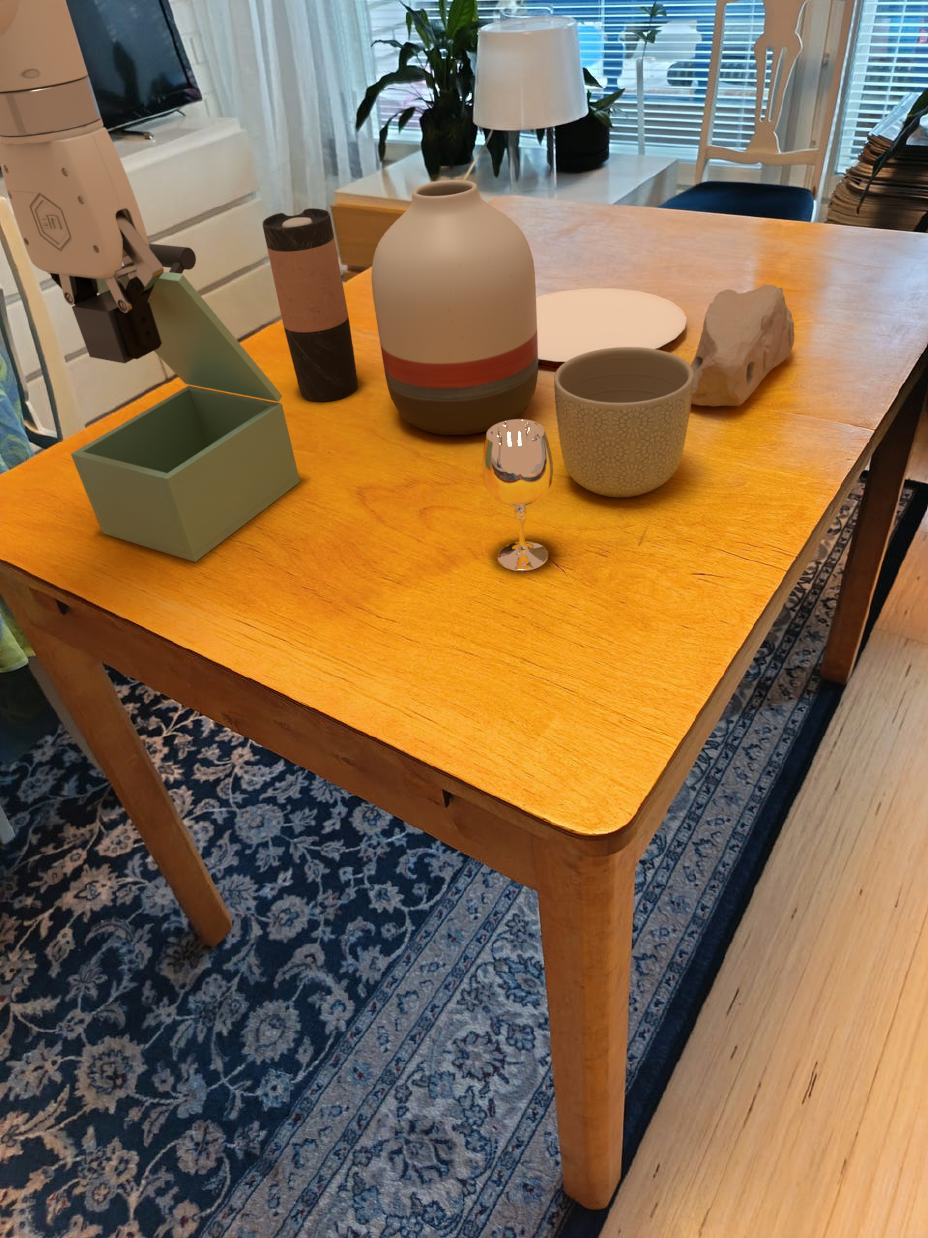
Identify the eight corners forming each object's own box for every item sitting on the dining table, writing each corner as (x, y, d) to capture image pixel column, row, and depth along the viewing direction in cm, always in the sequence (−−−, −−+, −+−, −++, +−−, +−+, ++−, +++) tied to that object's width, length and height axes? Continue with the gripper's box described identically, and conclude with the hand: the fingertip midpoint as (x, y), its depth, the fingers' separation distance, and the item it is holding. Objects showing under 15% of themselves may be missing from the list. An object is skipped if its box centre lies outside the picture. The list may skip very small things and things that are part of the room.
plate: (728, 328, 115) (729, 315, 114) (582, 392, 104) (582, 378, 103) (591, 286, 131) (591, 274, 130) (453, 338, 120) (452, 325, 119)
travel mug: (334, 407, 107) (299, 230, 94) (285, 397, 110) (246, 225, 98) (372, 381, 112) (344, 209, 99) (325, 372, 115) (292, 205, 103)
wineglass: (569, 552, 79) (566, 427, 72) (527, 583, 76) (519, 456, 69) (519, 531, 83) (511, 409, 75) (476, 560, 80) (464, 437, 72)
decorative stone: (733, 427, 94) (743, 334, 88) (666, 413, 98) (671, 323, 92) (799, 354, 107) (812, 268, 100) (738, 345, 110) (746, 261, 104)
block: (124, 363, 76) (107, 311, 73) (89, 357, 78) (71, 306, 75) (162, 343, 79) (146, 293, 76) (127, 337, 81) (111, 288, 78)
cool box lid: (177, 280, 74) (206, 233, 75) (74, 268, 79) (103, 224, 81) (279, 402, 88) (301, 360, 89) (185, 384, 93) (207, 345, 95)
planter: (531, 479, 90) (526, 375, 83) (623, 437, 95) (625, 335, 88) (618, 528, 81) (620, 417, 75) (713, 479, 87) (723, 371, 80)
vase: (561, 387, 106) (555, 166, 91) (506, 455, 94) (490, 214, 79) (431, 374, 112) (406, 165, 97) (365, 436, 100) (325, 210, 85)
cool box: (195, 562, 83) (167, 478, 78) (102, 533, 89) (70, 453, 84) (300, 482, 94) (281, 403, 88) (210, 460, 99) (188, 385, 94)
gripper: (-68, 121, 68) (27, 353, 80) (82, 124, 61) (163, 380, 72) (14, 101, 73) (92, 322, 85) (162, 101, 66) (226, 344, 77)
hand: (124, 346), depth 78 cm, fingers closed on block, 4 cm apart
